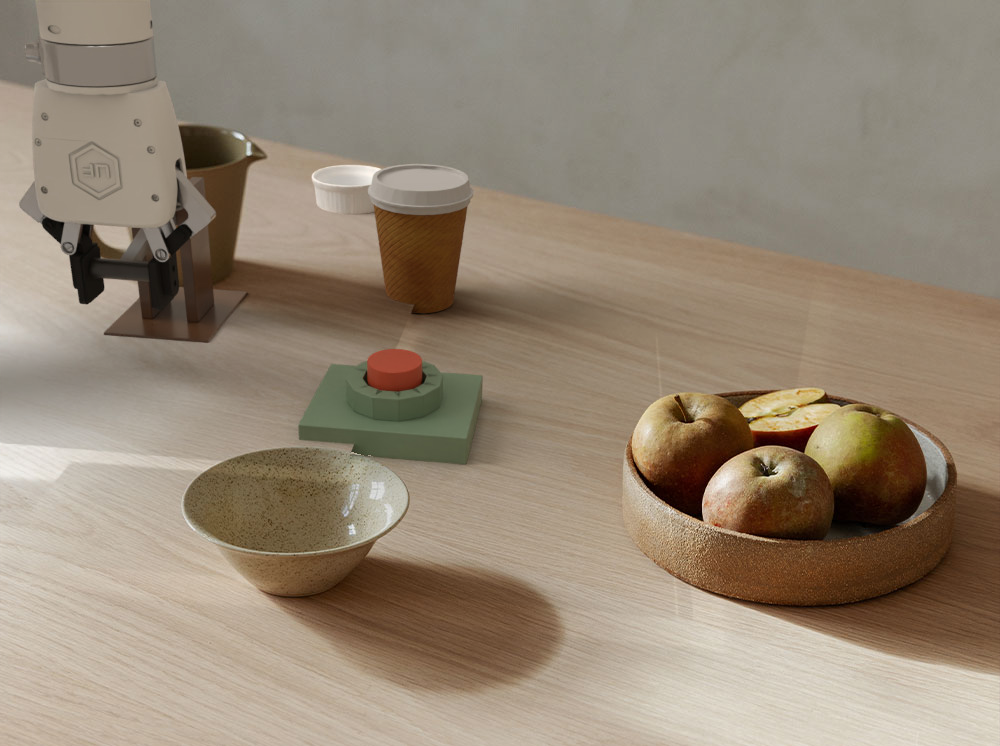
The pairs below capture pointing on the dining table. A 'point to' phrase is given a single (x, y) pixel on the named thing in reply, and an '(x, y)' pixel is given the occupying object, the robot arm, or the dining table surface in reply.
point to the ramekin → (344, 188)
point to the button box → (396, 415)
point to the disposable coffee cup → (420, 231)
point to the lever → (126, 261)
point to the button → (394, 370)
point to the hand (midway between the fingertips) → (128, 298)
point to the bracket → (182, 296)
